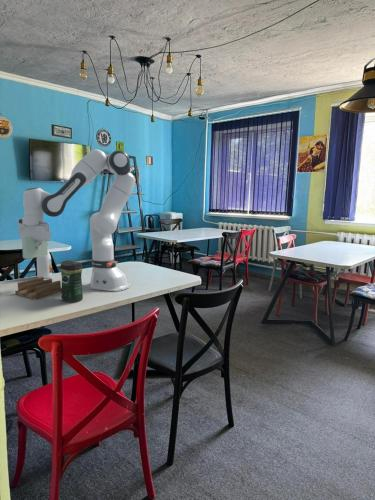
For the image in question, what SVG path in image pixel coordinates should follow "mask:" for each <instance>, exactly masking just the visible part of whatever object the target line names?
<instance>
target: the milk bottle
mask: <svg viewBox="0 0 375 500" xmlns="http://www.w3.org/2000/svg"><path fill="white" fill-rule="evenodd" d="M48 246H49V245H48V242H47V250H48V255H46V256H40V257H36V273H37V274H36V277H37V278H40V277H44V279H51V277H52V276H53V275H52V274H53V272H52V271H53V270H52V257H51V254H50V252H49V249H48Z"/></svg>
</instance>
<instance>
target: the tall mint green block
mask: <svg viewBox="0 0 375 500" xmlns="http://www.w3.org/2000/svg"><path fill="white" fill-rule="evenodd" d="M37 243H38V242H37V240H34V238H33V237H25V238H21V244H22V258H23V259H25V260H28V259H34V258H37V257H40V256H46V255H48V251H49V249H48V247H47V243H48V241H42V244H41V249H36V245H37ZM47 249H48V250H47Z"/></svg>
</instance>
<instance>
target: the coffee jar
mask: <svg viewBox="0 0 375 500" xmlns="http://www.w3.org/2000/svg"><path fill="white" fill-rule="evenodd" d="M82 272H83V264H82V263H81V262H79V261H74V260H64V261H62V262H60V273H61V275H60V276H61V288H62V292H60V293H61V300H62V301H66V302H67V303H68V302H69V303H73V302H74V303H75V302H76V303H77V302H78V303H79V302H80V301H81V300H83V298H84V294H83V293H84V292H83V283H82Z"/></svg>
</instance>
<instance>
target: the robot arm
mask: <svg viewBox="0 0 375 500" xmlns="http://www.w3.org/2000/svg"><path fill="white" fill-rule="evenodd" d="M103 171H106V172H108V173H109V174H112V175H114V180H113V181H112V184H111V185H110V187H109V188H108V190H107V193H106V194H105V195H104V198H103V200H102V201H103V202H102V204H101V207H100V209H99V211H98V212H95V213H93V214H92V215H91V216H90V217H89V229H90V238H91V245H92V246H91V249H92V250H91V251H92V254H91V255H92V259H91V267H92V269H91V278H90V279H91V280H90V284H89V286H90V288H89V289H92V290H93V289H94V290H99V291H105V292H106V291H109V292H120V291H123V290H127V289H129V288H131V287H132V284H131V283H129V282H128V280H127V276H126V275H125V273H124V272H123V271H122V270H120V268H119V267H117V264H118V262H119V261H116V260H115V258H114V257H115V256H114V243H113V235H112V234H114V233H115V231H116V230H117V227H118V223H119V220H120V218H121V214H122V212H123V210H124V207H125V206H126V204H127V202H128V200H129V198H130V196H131V195H132V192H133V190H134V187H135V184H136V177H135V175H133V174H132V173H131V172H130V171H131V159H130V157H129V154H128V153H127V152H125V151H123V150H121V149H120V150H119V149H118V150H114V151H113V152H111V153H110V154H106V153H105V152H104V151H103V150H101V149H98V148H94V149H92V150H91V151H89V152H88V153H86V154H85V155H84V156H83V157H82V158H81V159H80V160H79V161H78V162H77V163H76V164H75V166H74V167H73V168H72V170H71V173H70V177H69V178H68V180H67V181H66V183H65V184H63V186H61V187H60V188H59V189H58V190H57V192H55V193H53V194H52V193H50V192H48V191H46V190H43V189H42V188H41V187H31V188H27V189H25V190H24V191H23V197H22V201H23V202H22V203H23V205H22V206H23V209H24V212H23V217H21V218H18V219H17V224H18V231H17V232H18V237H19V238H21V239H22V238H25V237H33V238H34V240H37V242H38V243H37V245H36V249H41V244H42V241H47V242H49V241H51V240H52V235H51V234H52V233H51V228H50V225H49V224H48V223H47V222H46V221H45V220H44V214H45V215H46V216H48V217H53V218H54V217H59V216H60V215H62V214H63V212H64V211H65V208H66V205H67V203H68V202H69V200H70V199H71V198H73V196H74V195H75V194H76V193H77V192H78V191H79V190H80V189H81V188H83V187H84V186H86V185H87V184H89V183H91V182H92V181H93V180H94V179H96V177H98V175H99V174H100V173H101V172H103Z"/></svg>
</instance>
